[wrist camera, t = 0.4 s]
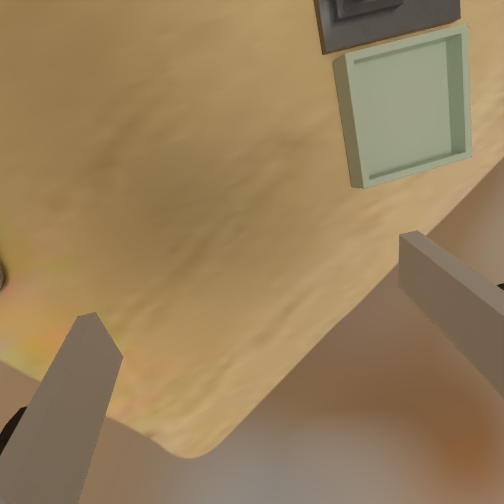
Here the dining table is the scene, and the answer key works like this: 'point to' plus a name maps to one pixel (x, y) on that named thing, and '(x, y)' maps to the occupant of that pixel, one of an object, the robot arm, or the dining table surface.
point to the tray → (405, 105)
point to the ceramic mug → (1, 278)
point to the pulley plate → (378, 20)
